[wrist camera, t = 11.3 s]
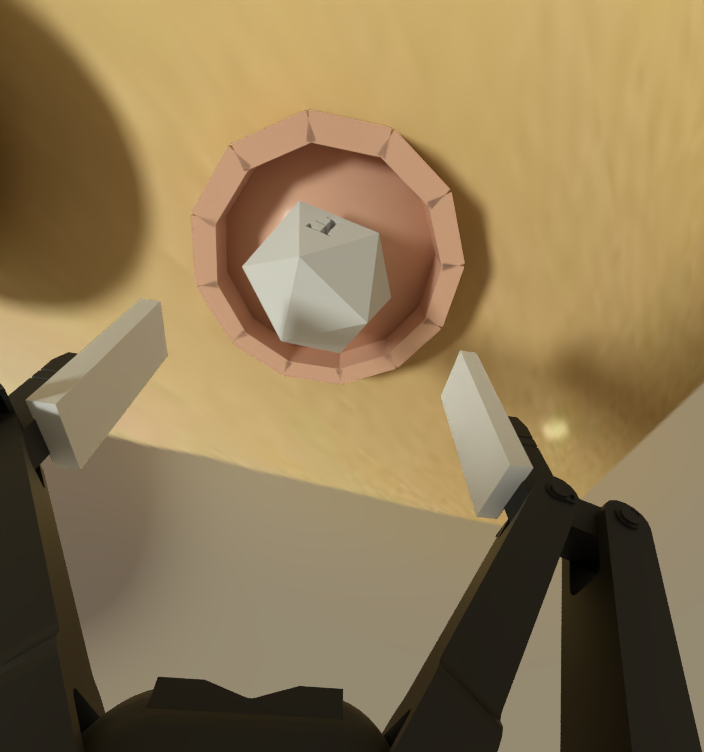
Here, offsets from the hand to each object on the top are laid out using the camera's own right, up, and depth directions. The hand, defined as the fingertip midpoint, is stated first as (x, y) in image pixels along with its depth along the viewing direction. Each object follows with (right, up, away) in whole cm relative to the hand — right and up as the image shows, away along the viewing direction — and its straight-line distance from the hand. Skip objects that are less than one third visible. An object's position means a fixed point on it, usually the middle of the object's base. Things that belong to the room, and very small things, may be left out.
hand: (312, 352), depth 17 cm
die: (0, +7, +11) cm, 13 cm away
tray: (0, +8, +12) cm, 14 cm away
